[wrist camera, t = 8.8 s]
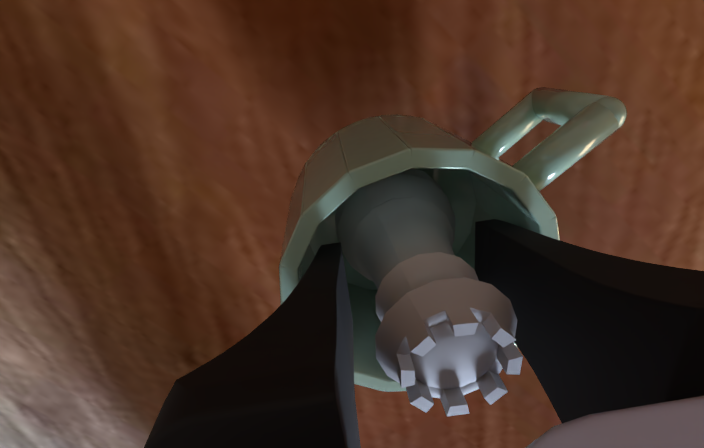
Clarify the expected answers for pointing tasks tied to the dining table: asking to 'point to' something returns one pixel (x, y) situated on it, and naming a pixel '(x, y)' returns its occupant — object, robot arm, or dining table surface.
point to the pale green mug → (455, 180)
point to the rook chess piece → (427, 294)
